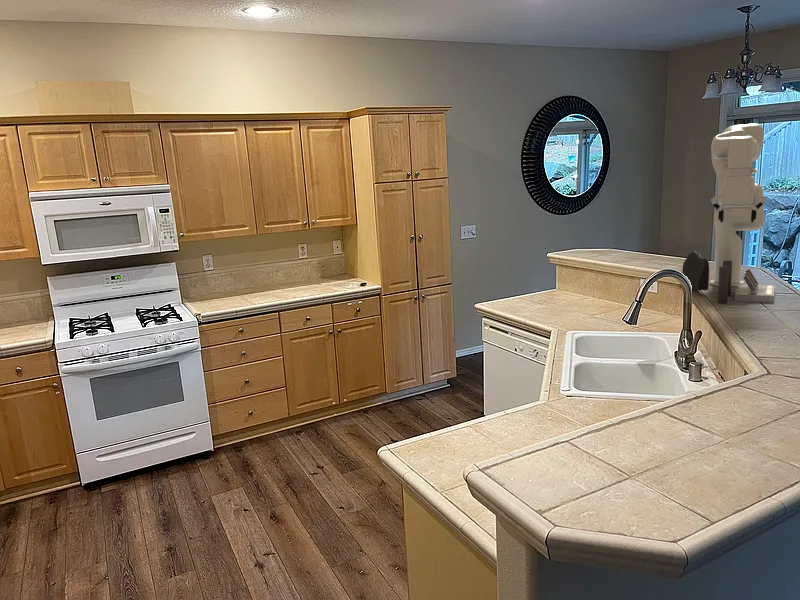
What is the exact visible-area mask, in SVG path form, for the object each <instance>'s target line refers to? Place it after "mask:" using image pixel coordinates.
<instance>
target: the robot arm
mask: <svg viewBox="0 0 800 600" xmlns="http://www.w3.org/2000/svg"><path fill="white" fill-rule="evenodd" d="M764 138H765V130H764V128H763V126H762V125H761V124H759V123H748V124H747V123H746V124H735V125H730V126H728V127H726V128H724V130H723V131H722V132H721V133H720V134H717V135H716V136H714V137H713V138H712V141H711V147H710V150H711V163H712V164H711V165H712V166H713V169H714V172H715V174H716V176H717V195H716V196H714V197H712V198H711V199H710V202H711V204H712V206H713V207H714V208H715V209H716V211H715V213H714V217H713V218H714V219H713V221H714V227H715V228H714V229H715V246H714V247H715V252H714V253H715V254H714V273H713V274H714V276H713V279H711V280H709V285H711V286H716V287H719V267H721V266H723V261H732V275H731V288H732V287H736V288H737V287H738V285H745V283H746V282H745V280H744V281H743V280H741V277H742V276H741V272H742V253H743V241H742V239H741V237H740V236H739V235H738V234H737V233H736V232H738V231H757V230H758V231H759V230H761V229H762V228H763V227H764V224H765V202H766V201H767V197H766V196H764V189H763V187H762V185H761V184H759V183H756V181H755V176H752V175H753V174H757V172H758V169H757V168H753V162H756V161H757V160H758V159H759V158H760V157H761V156H760V155H761V152H762V148H763V144H764ZM717 201H718V202H717Z"/></svg>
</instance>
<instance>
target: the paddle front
mask: <svg viewBox="0 0 800 600" xmlns="http://www.w3.org/2000/svg"><path fill="white" fill-rule="evenodd" d="M742 278H743V280H744V282H745V283H746V285H748V287H749V288H750V290H751V292H753V294H756V292H757V290H756V288H755V286H754V285H753V283H752V281H751V280H750V278H749V276H748V275H746V276H745V275H743V277H742Z"/></svg>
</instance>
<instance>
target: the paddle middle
mask: <svg viewBox="0 0 800 600" xmlns="http://www.w3.org/2000/svg"><path fill="white" fill-rule="evenodd" d="M746 275H748V276H749V278H750V280H751V281H752V283H753V285H754V286H755V288H756V290H757V288H758V287H757V285H756V283H755V281H754V280H753V278H752V277H751V275H750V273H749V272H747V273H746V272H745V273H744V275H743V276H746Z"/></svg>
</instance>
